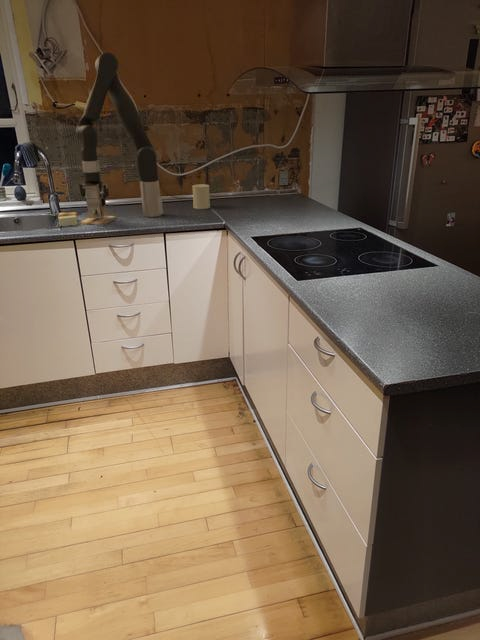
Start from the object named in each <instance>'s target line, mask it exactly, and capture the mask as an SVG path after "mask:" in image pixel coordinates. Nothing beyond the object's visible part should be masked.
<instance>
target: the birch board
mask: <svg viewBox="0 0 480 640" xmlns="http://www.w3.org/2000/svg"><path fill="white" fill-rule="evenodd" d="M116 218H117V217H116V215H105V216H104V217H102V218H89V217H87V218H85V219H84V220H82V221H80V222H79V224H80V225H90V224H95V225H96V226H104V225H106V224H108V223H110V222H112V221H114V220H115V219H116Z"/></svg>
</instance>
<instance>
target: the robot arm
mask: <svg viewBox="0 0 480 640" xmlns="http://www.w3.org/2000/svg"><path fill="white" fill-rule="evenodd" d="M94 66H95V67H94V68H95V71H96V76H95V77H96V78H95V79H94V80H95V81H94V82H93V86H92V89H91V90H90V94H89V96H88V98H87V100H86V104H85V107H84V111H83V114H82V116H81V118H80V120H79V122H78V124H77V125H76V128H75V135H76V138H77V139H78V140H79V141H81V142H83V147H82V148H81V150H80V154H81V163H82V172H83V173H82V174H83V179H84V182H85V183H80V184H78V185H79V192H80V196H81V197H82V198H84V199H86V195H85V188H84V185H85V184H86V183H98V184H99V188H102V187H103V191H104V193H103V191H102V189H101V192H100V196H101V198H102V199H101V203H102V206H107V204H106V203H107V202H106V201H107V200H106V198H108V197H109V195H110V193H109V184H108V183H105V184H104V183H103V182H102V183H101V181H102V178H101V170H100V164H99V159H98V153H97V147H98V133H97V130H96V129H95V127H94V125H95V124H96V123H99V121H100V119H101V118H100V117H101V116H102V111H103V108H104V105H105V100H106V96H107V93H108V95H109V98H110V100H111V103H112V105H113V107H114V109H115V112H116V114H117V116H118V118H119V121H120V122H121V124H122V126H123V128H124V130H125V131H126V132H127V134H128V135H129V137H130V138H131V140H132V141H133V144H134V147H135V149H136V153H137V155H136V161H137V171H138V176H139V185H140V194H141V195H140V196H141V205H142V215H143V216H144V217H148V218H153V217H161V216H162V215H163V214H164V212H163V209H164V208H163V200H162V195H161V193H160V180H159V172H158V161H157V159H158V153H157V151H156V149H155V147H154V146H153V145H152V142H151V140H150V139H149V137H148V135H147V133H146V130H145V127H144V124H143V121H142V119H141V116H140V114H139V112H138V111H139V110H138V109H137V107H136V105H135V103H134V101H133V99H132V98H131V96H130V95H129V94H128V92H127V90H126V89H125V88H124V86H123V85H122V83H121V80H120V79H119V78H120V77H119V76H118V73H117V72H118V69H119V60H118V59H117V57H116V56H115V55H114V54H113V53H111V52H102V53H101V54H100V55H99V56H98V57H97V58H96V60H95V64H94ZM85 202H86V205H87V201H86V200H85Z"/></svg>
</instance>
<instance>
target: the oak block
mask: <svg viewBox="0 0 480 640" xmlns="http://www.w3.org/2000/svg"><path fill="white" fill-rule="evenodd" d="M72 215H76V217H77V221H78V220H79V219H78V213H77V212H75V211H73V212H69V211H68V212H59V213H58V214H57V218H58V217H63V216H72Z"/></svg>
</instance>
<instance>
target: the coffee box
mask: <svg viewBox="0 0 480 640" xmlns="http://www.w3.org/2000/svg"><path fill="white" fill-rule="evenodd" d="M101 183H102V184H103V181H102V180H101ZM84 184H85V183H84ZM84 188H85V195H86V198H85V202H86V201H87V204H86V207H87V213H88V218H102V217H104V216H107V207H106V206H107V205H105V206H102V203H101V199H102V198H101V196H100V192H101V189H102V191H103V193H104V189H103V187H102V188H99V184H98V183H86V184H85V185H84Z"/></svg>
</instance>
